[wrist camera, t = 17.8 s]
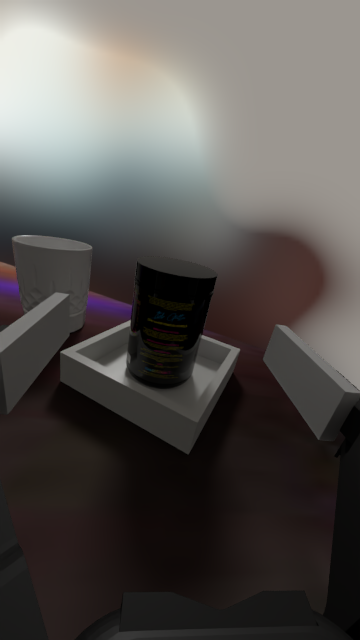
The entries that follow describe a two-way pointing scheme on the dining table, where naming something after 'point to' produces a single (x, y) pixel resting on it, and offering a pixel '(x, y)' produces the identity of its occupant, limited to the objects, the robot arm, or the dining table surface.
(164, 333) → the supplement container
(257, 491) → the dining table surface
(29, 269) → the white cup
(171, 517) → the dining table surface
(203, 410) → the tray
